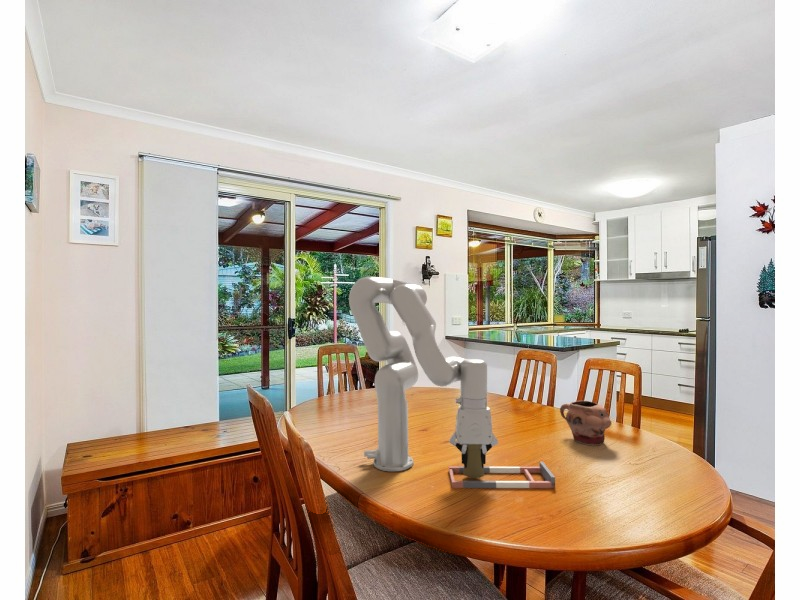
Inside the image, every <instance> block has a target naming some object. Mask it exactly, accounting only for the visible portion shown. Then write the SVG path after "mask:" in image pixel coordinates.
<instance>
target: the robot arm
mask: <svg viewBox="0 0 800 600" xmlns="http://www.w3.org/2000/svg"><path fill="white" fill-rule="evenodd" d="M427 301H428V296H427V293H426V290H425V289H424V288H423V287H422V286H420V285H418V284H415V283H410V282H406V281H400V280H399V279H398V280H397V279H394V278H393V279H392V278H390V277H389V278H388V277H380V276H364V277H361V278H359V279H358V280H356V281H355V282H354V284H353V285H352V287H351V289H350V292H349V295H348V302H349V303H348V304H349V308H350V310H351V311H350V312H351V314H352V316H353V318H354V321H355V323H356V325H357V327H358V331H359V333H360V337H361V338H362V342H363V344H364V347H365V350H366V351H367V355H368V356H369V358H370V359H371V360H372V361H374V362H381V363H382V362H385V361H386V362H387V364H385V365H383V366H381V367H380V368H379V369H378V370H377V372H376V373H375V376H374V388H375V394H376V400H377V401H376V402H377V437H378V438H377V448H376V449H374V450H370V449H365V450H364V453H363V455H364V457H366V458H367V459H369V460H370V459H373V463H372V464H373V466H374V467H375V468H376V469H377V470H380V471H384V472H390V473H391V472H394V473H395V472H403V471H406V470H409V469H411V467H413V465H414V459H413V457H412V456H410V455H409V409H408V408H409V407H408V401H407V396H406V393H405V391H407V390H408V389H410V388H412V387H414V385H416V383H417V382H418V379H419V369H418V366H417V363H416V361H415V359H414V356H413V353H412V351H411V349H410V346H409V343H408V342H407V340H406V338H405V336H404V335H403V334H402V333H401V332H399V331H398V330H392V329H389V330H388V328H387V326H386V323H385V320H384V317H383V315H382V314H381V311H379V310H378V308H377V306H376V304H379V303H380V304H381V303H382V304H384V303H385V304H389V305H392V306H393V308H394V309H395V311H396V313H397V314H398V317H399V319H401V320H402V323H403V324H404V326H405V328H406V329H407V331H408V333H409V334H410V336H411V339H412V346H413V350H414V353H415V356H416V357H415V358H416V360H417V362H418V363H419V365H420V367H421V368H422V370H423V372H424V374H425V375H426V376H427V378H428V380H430V381H431V383H432V384H434V385H436V386H438V387H447V386H449V385H451V384H453V383H457V382H460V395H459V397H458V398H455V401H454V402H455V404H459V406H458V408H457V412H456V421H455V430H454V432H453V433H452V435H451V436H450V437H449V440H448V441H449V443H450V444H451V445H452V446H453V447H455V448H456V449H458V451H459V452H460V453H461V464H462V465H463V466H464V467H465V468H467V454H466V448H467V445H472V444H477V445H482V447H481V462H482V468H484V467H485V466H484V465H486V464H487V461H486V460H487V457H486V455H487V454H488V452H489V451H490V450H491V449H492V447H494V446H496V445H498V443H499V440H498V439H497V438H496V436H495V435H494V433H493V422H492V421H493V420H492V419H493V418H492V414H491V408H490V407H489V406H488V364H487V362H486V361H485V360H483V359H479V358H478V359H477V358H463V357H458V356H453V355H452V356H451V355H449V356H446V357H444V355H443V354H442V352H441V350H440V348H439V345H438V344H437V340H436V327H437V322H436V320H435V319H434V317H433V316H432V314H431V313H430V311H429V309H428V308H427V306H426V303H427Z"/></svg>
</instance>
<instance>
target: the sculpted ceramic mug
mask: <svg viewBox="0 0 800 600" xmlns="http://www.w3.org/2000/svg"><path fill="white" fill-rule="evenodd" d="M566 410H568V411H567V413H566V415H565V414H564V413H565V411H566ZM559 413H560V416H561V417H562V419H564V420H565V421H566V423H567V425H568V426H569V428H570V430H571V434H572V437H573V440H574V441H575V442H577V443H579V444H583V445H587V446H600V445H603V444H604V443H605V439H606V438H605V431H606V430H607V429H609V428H610V427H611V426H612V421H611V418H610V416H609V415H608V412H607V409H606V408H605V407H604V406H603V405H602V404H600V403H596V402H594V401H589V400H575V401H572V402H570V403H569V404H568V403H564V404H561V406H560V408H559Z"/></svg>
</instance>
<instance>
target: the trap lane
mask: <svg viewBox="0 0 800 600" xmlns="http://www.w3.org/2000/svg"><path fill="white" fill-rule="evenodd" d="M463 470H464V465H463V466H462V465H461V466H457V465H456V466H452V465H451V466H450V465H449V466H448V473H449V479H450V483H451V488H453V489H454V488H455V489H459V488H460V489H462V488H463V489H465V488H466V489H556V476H555V475H554V474H553V472H551V470H550V469H549V468H548V466H547V464H546V463H545V462H544V461H539V466H484V474H524V475H525V477H526V478H527V480H455V477H454V474H455V473H456V474H457V473H458V474H463ZM531 474H540V475H542V477H543V479H545V480H534V478H533V476H532V475H531Z"/></svg>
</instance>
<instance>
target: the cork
mask: <svg viewBox="0 0 800 600" xmlns="http://www.w3.org/2000/svg"><path fill="white" fill-rule="evenodd" d="M481 447H482V445H477V444H472V445H467V448H466V454H467V468H465V467H464V470H463V473H462V474H463V475H464V477H467V478H471V479H480V478H483V477H484V476H485V473H484V468H482V462H481Z"/></svg>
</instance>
